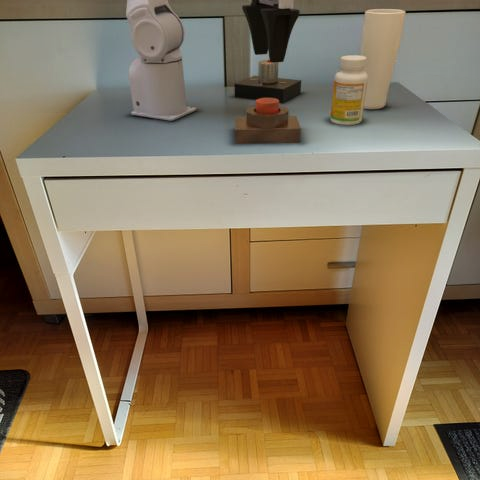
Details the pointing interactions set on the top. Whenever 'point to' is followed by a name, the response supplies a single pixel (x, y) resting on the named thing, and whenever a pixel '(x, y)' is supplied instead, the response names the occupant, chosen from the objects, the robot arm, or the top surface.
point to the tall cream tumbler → (380, 52)
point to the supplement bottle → (349, 91)
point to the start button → (267, 105)
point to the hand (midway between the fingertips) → (268, 58)
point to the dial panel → (268, 89)
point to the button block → (267, 127)
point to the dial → (267, 72)
